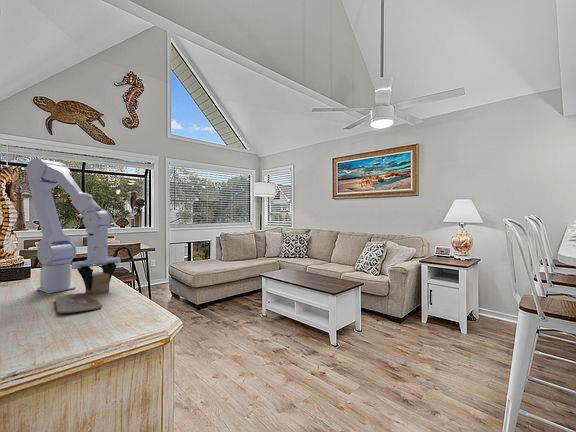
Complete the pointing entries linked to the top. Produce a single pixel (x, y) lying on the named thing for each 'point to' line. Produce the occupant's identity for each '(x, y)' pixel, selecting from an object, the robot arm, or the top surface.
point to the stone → (76, 303)
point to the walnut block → (99, 283)
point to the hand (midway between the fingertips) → (97, 287)
